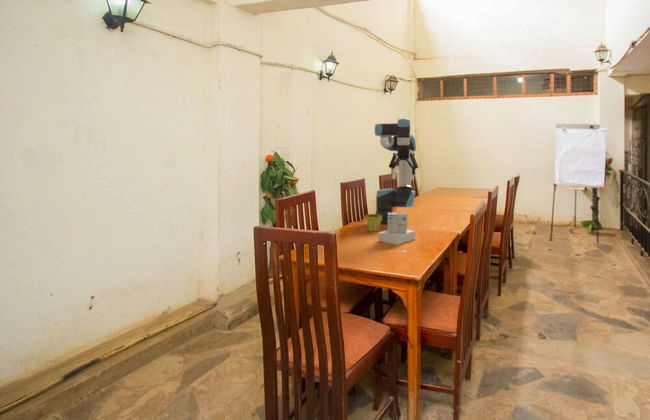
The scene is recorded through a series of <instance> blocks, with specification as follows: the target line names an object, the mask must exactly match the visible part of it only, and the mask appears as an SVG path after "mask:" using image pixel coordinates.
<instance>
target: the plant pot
mask: <svg viewBox="0 0 650 420" xmlns="http://www.w3.org/2000/svg"><path fill="white" fill-rule="evenodd" d="M381 221H382V215H379V214H375V213H370V214H366V215H365V222H366V226H367V229H368V231H369V232H378V231H379V230H380V226H381V224H382V223H381ZM379 232H380V231H379Z"/></svg>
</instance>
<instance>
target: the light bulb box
mask: <svg viewBox="0 0 650 420" xmlns="http://www.w3.org/2000/svg"><path fill="white" fill-rule="evenodd" d="M387 230H388V233H407V230H408V215H407V212H393V213H388V223H387Z"/></svg>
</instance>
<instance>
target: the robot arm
mask: <svg viewBox="0 0 650 420" xmlns="http://www.w3.org/2000/svg"><path fill="white" fill-rule="evenodd" d="M374 134H375V137H378V136H379V137H380V140H379V142H380V145H381V146H382V148H384V150H385V149H386V150H388V151H391V152H393V153H392V156H391V157H392V158H391V160H390V162H389V165H388V167H389V169H391V173H390V174H392V175H391V177H392V178H391V179H392V180H396V179H397V168H396V166H398V164H399V166H398V168H399V169H398V186H397V187H396V190H394V188H393V187H392V188H389V187H388V188H381V189H379V190H376V196H375V198H376V211H375V213H374V214H379V215H382V221H381V223H380V224H388V213H394V208H412V207H413V206H414V203H415V198H416V197H415V196H416V191H415V190H414V188H413V187H412V181H414V180H415V175H416V169H419V165H418V163H417V160H416V158H415V152H416V151H417V146H416V145H417V143H416V137H415V135H414V134H411V119H410V118H400V119H398V120H397V123H393V122H392V123H378V124H377V123H376V124H375V125H374Z"/></svg>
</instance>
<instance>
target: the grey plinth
mask: <svg viewBox="0 0 650 420" xmlns="http://www.w3.org/2000/svg"><path fill="white" fill-rule="evenodd" d="M415 240H416V230H411V229H407V233H388V229H387V230H384V231H379V232H378V242H381V243H387V244H390V245H396V246H399V245H402V244H404V243H408V242H411V241H415Z"/></svg>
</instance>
